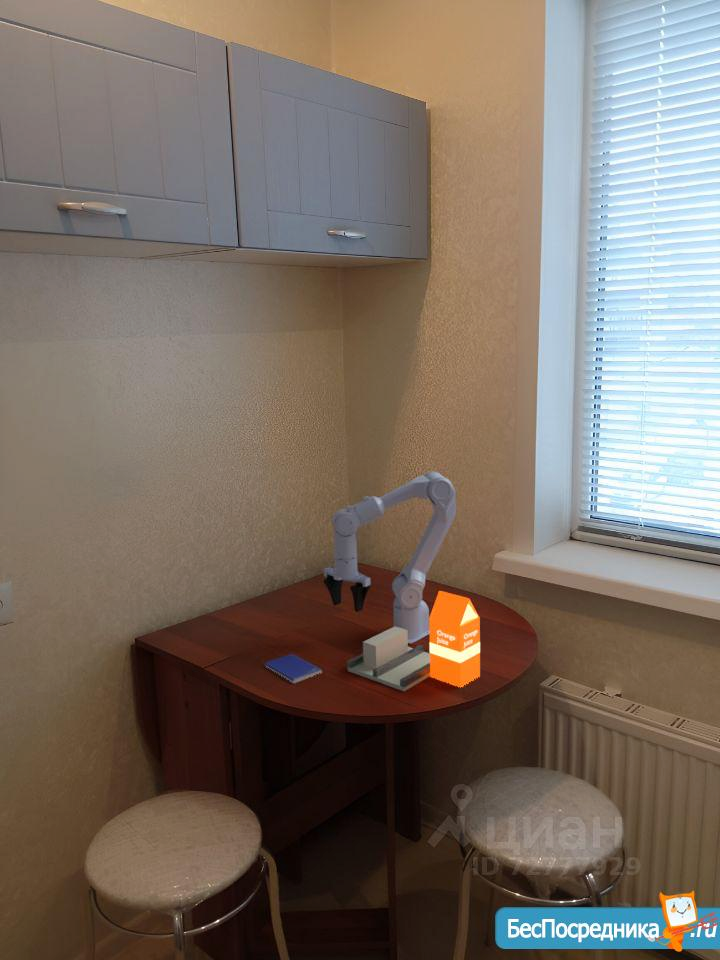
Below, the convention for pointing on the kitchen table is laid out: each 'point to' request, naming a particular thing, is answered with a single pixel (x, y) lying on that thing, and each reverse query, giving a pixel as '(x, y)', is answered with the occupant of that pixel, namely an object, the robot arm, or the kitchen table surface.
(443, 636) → the orange juice
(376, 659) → the clay bar
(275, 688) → the kitchen table surface
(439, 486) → the robot arm
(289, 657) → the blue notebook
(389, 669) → the rack
